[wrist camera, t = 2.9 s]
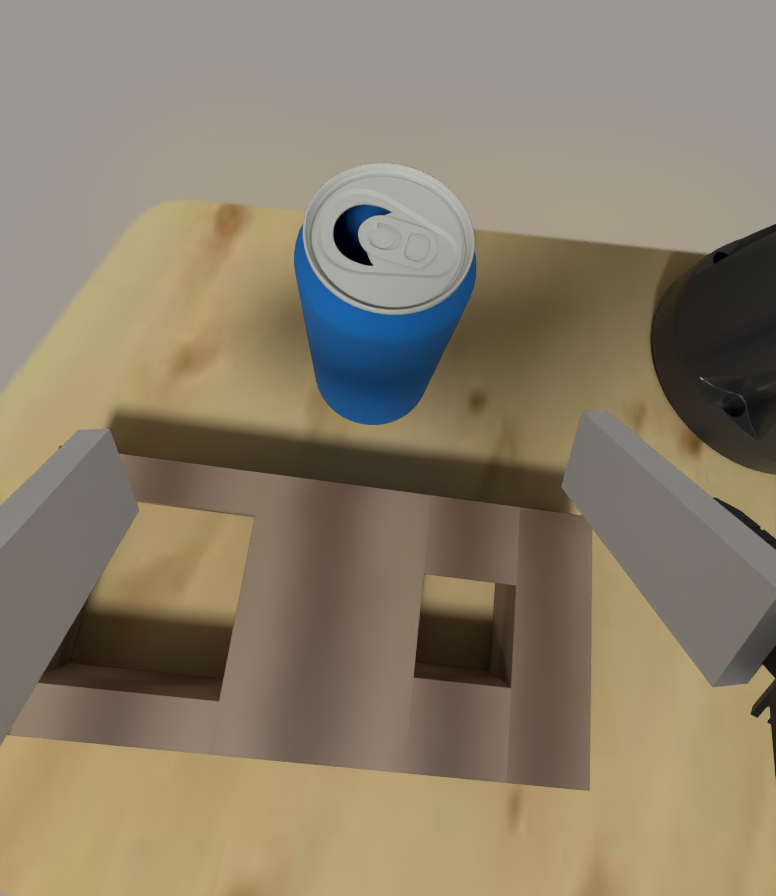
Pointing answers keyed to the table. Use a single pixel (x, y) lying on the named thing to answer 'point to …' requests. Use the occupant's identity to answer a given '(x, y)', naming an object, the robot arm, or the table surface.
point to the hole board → (358, 638)
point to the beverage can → (382, 286)
